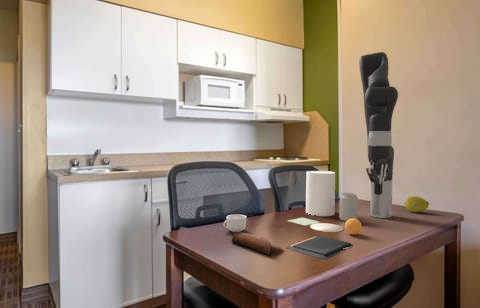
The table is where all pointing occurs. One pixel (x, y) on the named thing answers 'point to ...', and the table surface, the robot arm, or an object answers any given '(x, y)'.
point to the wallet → (320, 247)
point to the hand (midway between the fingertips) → (378, 194)
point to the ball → (353, 226)
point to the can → (348, 206)
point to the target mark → (326, 227)
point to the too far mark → (303, 221)
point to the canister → (320, 193)
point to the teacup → (235, 223)
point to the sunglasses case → (257, 243)
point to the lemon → (416, 204)
